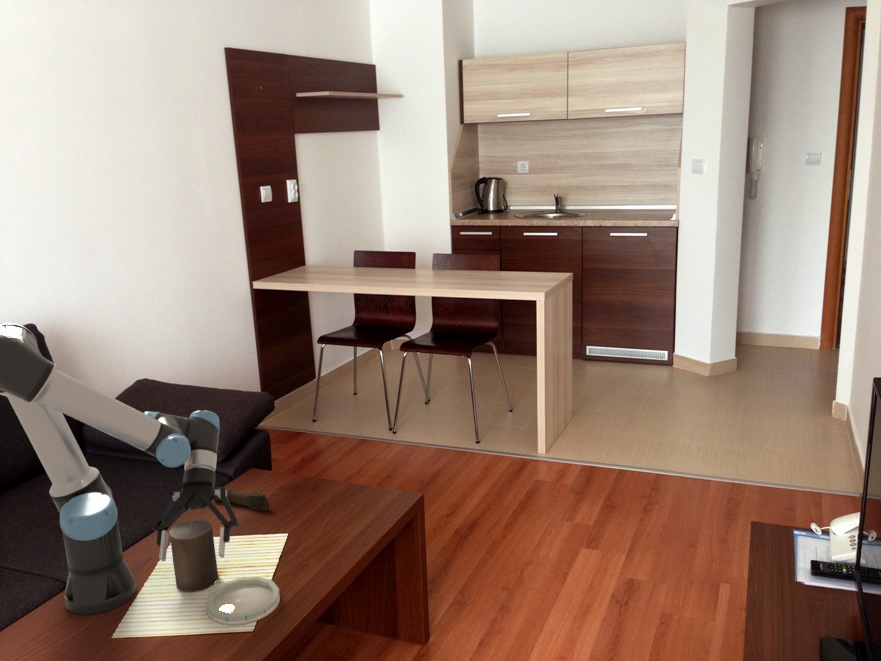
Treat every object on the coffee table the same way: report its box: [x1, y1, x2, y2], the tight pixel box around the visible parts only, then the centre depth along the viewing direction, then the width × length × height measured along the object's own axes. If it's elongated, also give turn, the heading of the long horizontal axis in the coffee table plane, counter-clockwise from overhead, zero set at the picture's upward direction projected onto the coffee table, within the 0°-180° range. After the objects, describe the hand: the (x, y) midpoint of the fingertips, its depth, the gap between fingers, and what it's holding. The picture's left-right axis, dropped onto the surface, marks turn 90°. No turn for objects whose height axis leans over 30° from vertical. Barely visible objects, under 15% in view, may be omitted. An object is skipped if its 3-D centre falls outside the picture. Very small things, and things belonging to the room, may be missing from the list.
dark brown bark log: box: [213, 486, 270, 511], centre depth 225 cm, size 19×4×5 cm, turn 62°
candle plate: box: [205, 576, 281, 626], centre depth 177 cm, size 16×16×2 cm
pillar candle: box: [168, 518, 219, 593], centre depth 185 cm, size 10×10×15 cm
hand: (191, 558), depth 183 cm, fingers open, 13 cm apart
